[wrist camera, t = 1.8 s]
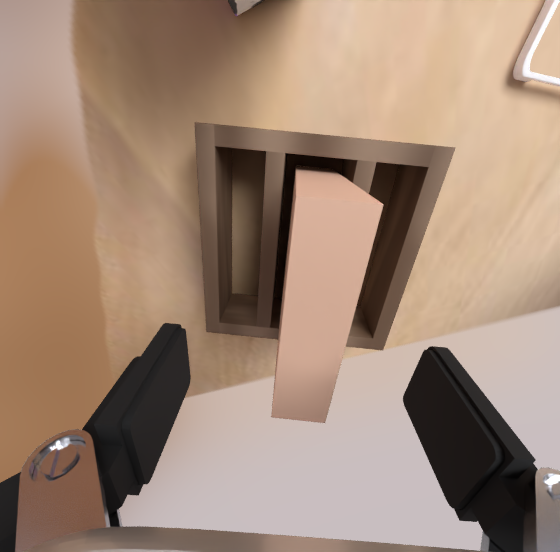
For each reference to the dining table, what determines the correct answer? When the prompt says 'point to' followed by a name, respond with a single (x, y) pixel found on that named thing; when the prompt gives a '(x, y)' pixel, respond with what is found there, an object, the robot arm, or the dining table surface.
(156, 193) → the dining table surface
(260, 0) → the candy box
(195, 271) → the dining table surface
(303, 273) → the pink block
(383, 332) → the slotted box
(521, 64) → the phone case
